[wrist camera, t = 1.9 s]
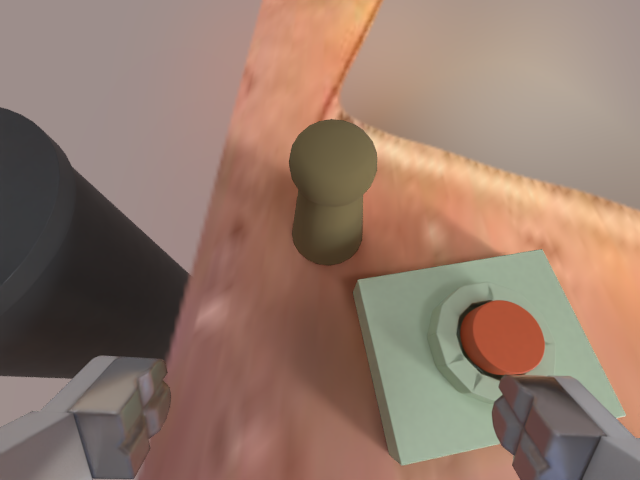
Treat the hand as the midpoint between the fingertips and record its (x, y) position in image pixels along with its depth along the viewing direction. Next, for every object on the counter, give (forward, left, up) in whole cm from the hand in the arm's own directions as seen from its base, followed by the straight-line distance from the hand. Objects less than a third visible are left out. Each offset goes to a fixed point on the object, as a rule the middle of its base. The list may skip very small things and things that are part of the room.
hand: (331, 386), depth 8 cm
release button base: (+11, +1, -16) cm, 19 cm away
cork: (+3, +12, -16) cm, 20 cm away
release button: (+11, +1, -11) cm, 16 cm away
